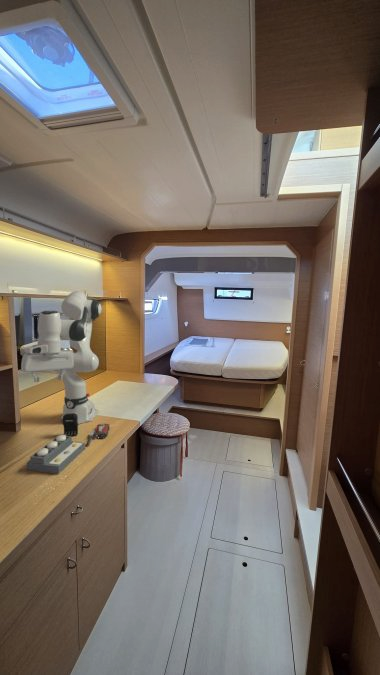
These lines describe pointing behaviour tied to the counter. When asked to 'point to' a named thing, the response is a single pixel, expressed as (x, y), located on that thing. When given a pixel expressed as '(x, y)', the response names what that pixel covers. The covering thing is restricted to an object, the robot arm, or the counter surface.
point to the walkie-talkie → (99, 432)
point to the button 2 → (61, 438)
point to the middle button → (52, 445)
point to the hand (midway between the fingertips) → (48, 380)
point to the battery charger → (70, 424)
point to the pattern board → (56, 457)
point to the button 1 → (42, 452)
